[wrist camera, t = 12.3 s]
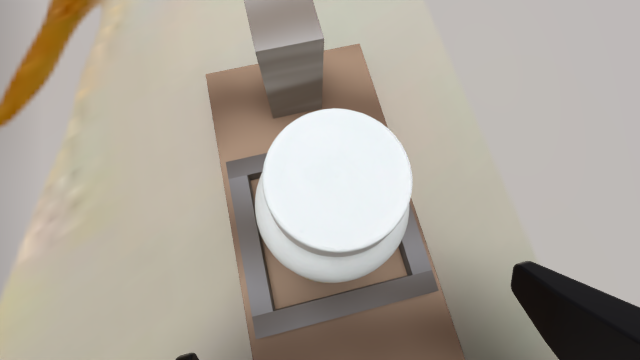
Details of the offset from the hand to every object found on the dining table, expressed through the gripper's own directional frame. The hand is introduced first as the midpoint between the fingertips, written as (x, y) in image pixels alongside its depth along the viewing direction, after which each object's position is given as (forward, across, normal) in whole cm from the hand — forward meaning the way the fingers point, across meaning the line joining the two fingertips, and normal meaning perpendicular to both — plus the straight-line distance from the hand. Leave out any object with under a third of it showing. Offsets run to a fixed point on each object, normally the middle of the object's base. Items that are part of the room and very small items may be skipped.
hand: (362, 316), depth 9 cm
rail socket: (+9, 0, +4) cm, 10 cm away
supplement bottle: (+8, 0, +3) cm, 9 cm away
